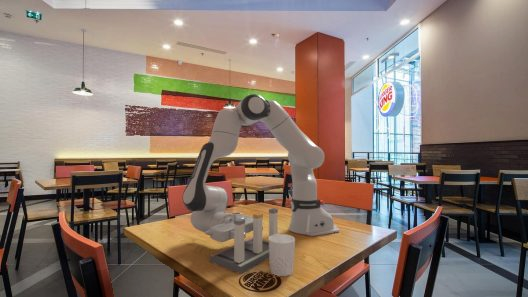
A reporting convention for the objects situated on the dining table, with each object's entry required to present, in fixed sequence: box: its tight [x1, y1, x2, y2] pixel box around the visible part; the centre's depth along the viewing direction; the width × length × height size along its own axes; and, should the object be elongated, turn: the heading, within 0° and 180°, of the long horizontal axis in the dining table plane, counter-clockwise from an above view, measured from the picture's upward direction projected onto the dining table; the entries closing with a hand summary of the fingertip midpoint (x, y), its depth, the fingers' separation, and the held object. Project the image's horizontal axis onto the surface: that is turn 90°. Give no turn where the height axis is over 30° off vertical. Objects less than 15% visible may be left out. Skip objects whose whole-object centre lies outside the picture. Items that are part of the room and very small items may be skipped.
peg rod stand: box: [209, 207, 279, 275], centre depth 89 cm, size 14×22×15 cm, turn 143°
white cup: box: [268, 233, 296, 277], centre depth 78 cm, size 8×8×10 cm
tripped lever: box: [252, 212, 264, 254], centre depth 87 cm, size 2×3×13 cm
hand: (253, 232), depth 88 cm, fingers open, 8 cm apart
